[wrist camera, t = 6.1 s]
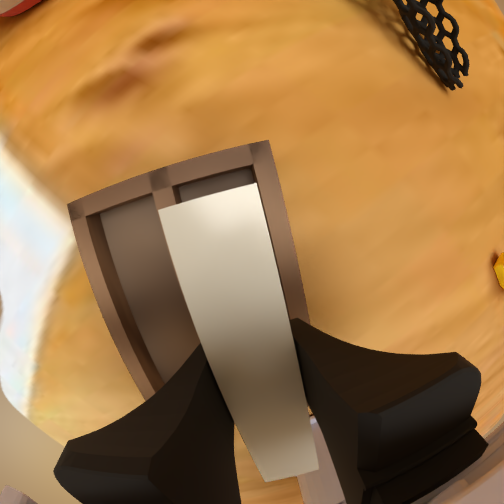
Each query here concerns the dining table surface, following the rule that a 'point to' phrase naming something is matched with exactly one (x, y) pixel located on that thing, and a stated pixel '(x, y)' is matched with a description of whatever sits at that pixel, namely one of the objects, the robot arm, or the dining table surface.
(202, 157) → the rack
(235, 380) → the clay strip
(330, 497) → the robot arm
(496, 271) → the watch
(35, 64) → the dining table surface
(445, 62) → the decorative element
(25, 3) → the citrus juicer
